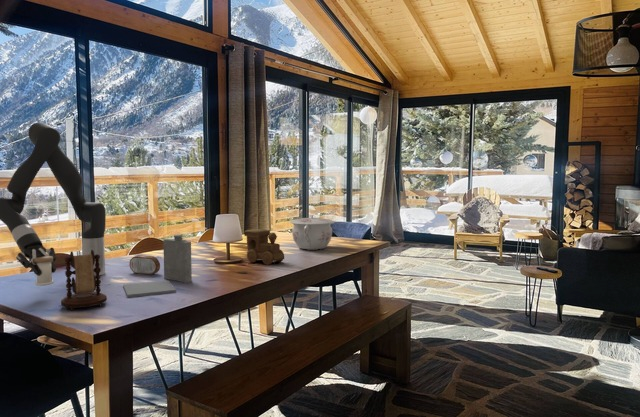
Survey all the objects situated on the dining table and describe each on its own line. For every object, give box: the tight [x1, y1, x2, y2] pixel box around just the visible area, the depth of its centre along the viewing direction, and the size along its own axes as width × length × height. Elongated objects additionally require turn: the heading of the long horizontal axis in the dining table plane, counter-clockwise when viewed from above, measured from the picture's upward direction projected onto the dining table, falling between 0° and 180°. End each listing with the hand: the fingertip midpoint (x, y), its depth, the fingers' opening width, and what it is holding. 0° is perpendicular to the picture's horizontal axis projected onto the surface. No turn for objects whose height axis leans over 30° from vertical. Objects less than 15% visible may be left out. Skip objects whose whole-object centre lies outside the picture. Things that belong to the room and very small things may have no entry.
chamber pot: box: [289, 214, 335, 251], centre depth 299 cm, size 28×28×21 cm
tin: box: [129, 254, 161, 275], centre depth 227 cm, size 15×3×8 cm, turn 74°
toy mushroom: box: [34, 256, 55, 287], centre depth 185 cm, size 6×6×10 cm
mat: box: [122, 279, 177, 298], centre depth 198 cm, size 18×18×1 cm
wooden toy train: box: [243, 228, 285, 266], centre depth 255 cm, size 20×11×17 cm, turn 56°
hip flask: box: [162, 234, 193, 284], centre depth 215 cm, size 16×4×20 cm, turn 58°
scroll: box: [60, 250, 108, 312], centre depth 174 cm, size 15×15×20 cm
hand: (47, 272), depth 184 cm, fingers closed on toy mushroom, 5 cm apart
